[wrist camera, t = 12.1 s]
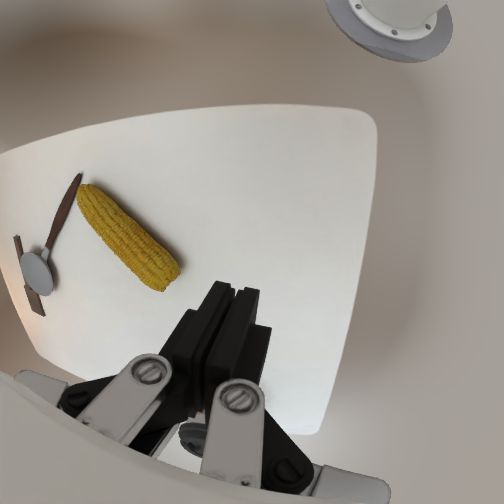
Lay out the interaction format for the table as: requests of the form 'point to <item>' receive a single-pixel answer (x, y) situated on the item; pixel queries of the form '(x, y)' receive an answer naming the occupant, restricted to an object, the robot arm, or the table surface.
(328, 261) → the table surface
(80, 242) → the table surface
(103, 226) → the food
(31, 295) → the spatula
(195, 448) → the coffee cup
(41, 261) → the spoon
